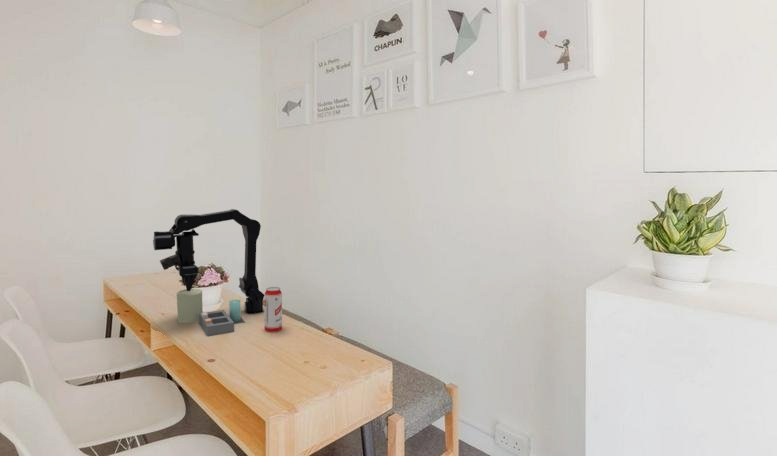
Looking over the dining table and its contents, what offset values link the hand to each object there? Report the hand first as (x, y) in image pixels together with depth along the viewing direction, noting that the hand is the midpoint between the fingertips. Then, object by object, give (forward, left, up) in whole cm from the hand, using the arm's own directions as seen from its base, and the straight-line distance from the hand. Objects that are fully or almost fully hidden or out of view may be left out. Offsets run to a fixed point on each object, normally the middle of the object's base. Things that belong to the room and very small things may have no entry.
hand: (186, 288), depth 155 cm
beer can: (-26, +24, -14) cm, 38 cm away
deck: (-16, +8, -14) cm, 23 cm away
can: (-1, -3, -14) cm, 14 cm away
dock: (-8, +11, -14) cm, 20 cm away
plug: (-16, +8, -13) cm, 22 cm away
